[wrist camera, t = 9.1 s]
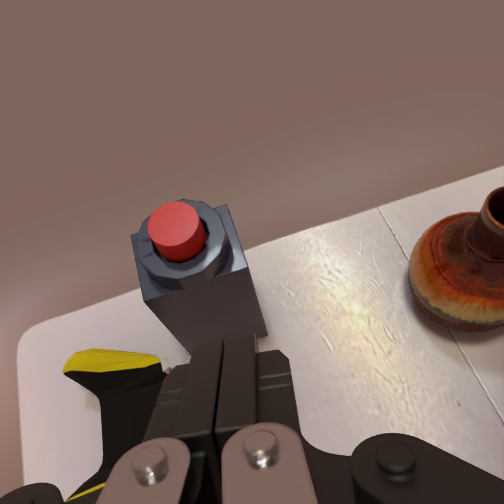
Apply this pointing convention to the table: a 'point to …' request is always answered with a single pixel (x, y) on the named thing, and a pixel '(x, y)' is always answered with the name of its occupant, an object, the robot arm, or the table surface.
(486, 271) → the vase
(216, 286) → the button pillar
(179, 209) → the button
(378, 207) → the table surface
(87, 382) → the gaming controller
